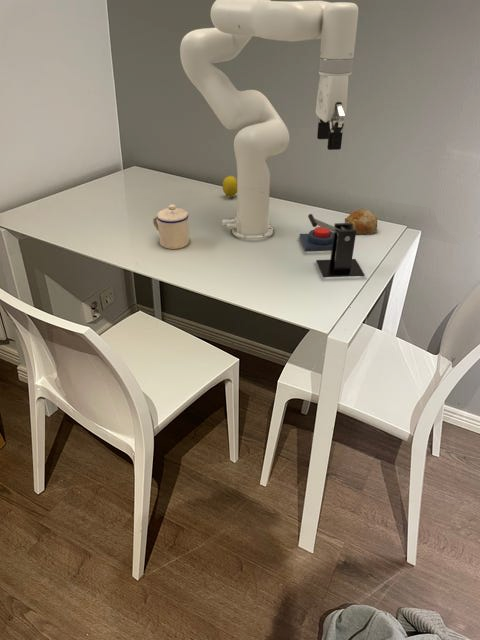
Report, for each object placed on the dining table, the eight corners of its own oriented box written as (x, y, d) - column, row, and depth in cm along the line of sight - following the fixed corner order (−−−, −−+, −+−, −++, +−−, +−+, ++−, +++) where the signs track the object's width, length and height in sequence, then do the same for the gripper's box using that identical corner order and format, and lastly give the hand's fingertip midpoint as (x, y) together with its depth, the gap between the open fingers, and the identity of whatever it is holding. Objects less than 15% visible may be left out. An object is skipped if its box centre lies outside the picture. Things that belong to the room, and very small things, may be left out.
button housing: (304, 254, 141) (305, 241, 139) (299, 240, 149) (300, 228, 147) (342, 253, 142) (344, 240, 140) (335, 239, 150) (336, 227, 147)
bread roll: (369, 247, 153) (384, 226, 148) (340, 231, 152) (355, 210, 147) (368, 234, 161) (383, 214, 156) (341, 219, 160) (355, 198, 155)
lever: (310, 228, 122) (314, 219, 121) (306, 219, 127) (310, 211, 126) (349, 244, 126) (354, 236, 125) (344, 234, 130) (348, 227, 129)
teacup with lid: (196, 240, 148) (194, 203, 141) (177, 252, 142) (174, 214, 135) (164, 231, 153) (161, 195, 147) (145, 242, 147) (141, 205, 140)
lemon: (222, 194, 180) (222, 172, 175) (237, 194, 180) (237, 172, 175) (223, 200, 175) (222, 178, 170) (238, 200, 175) (238, 177, 171)
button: (315, 238, 142) (316, 233, 141) (312, 232, 145) (313, 226, 144) (330, 238, 142) (331, 232, 141) (327, 231, 145) (327, 226, 144)
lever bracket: (322, 280, 129) (328, 235, 122) (315, 263, 137) (320, 220, 129) (364, 278, 130) (371, 234, 123) (354, 262, 137) (361, 219, 130)
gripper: (310, 62, 119) (305, 135, 129) (329, 72, 105) (322, 154, 115) (340, 61, 120) (333, 134, 130) (364, 71, 106) (354, 153, 115)
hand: (328, 143), depth 122 cm, fingers open, 9 cm apart
